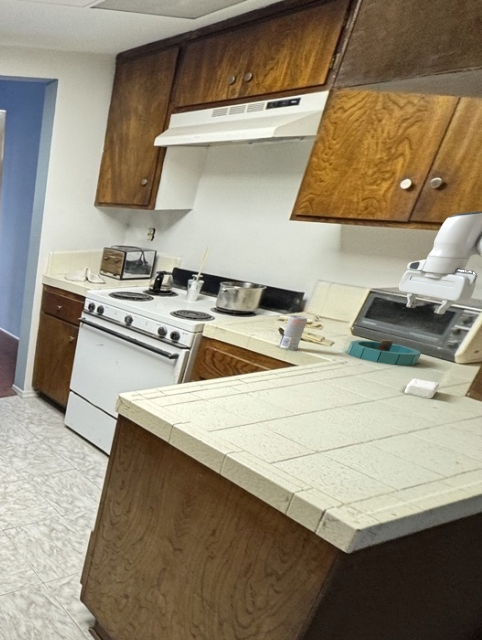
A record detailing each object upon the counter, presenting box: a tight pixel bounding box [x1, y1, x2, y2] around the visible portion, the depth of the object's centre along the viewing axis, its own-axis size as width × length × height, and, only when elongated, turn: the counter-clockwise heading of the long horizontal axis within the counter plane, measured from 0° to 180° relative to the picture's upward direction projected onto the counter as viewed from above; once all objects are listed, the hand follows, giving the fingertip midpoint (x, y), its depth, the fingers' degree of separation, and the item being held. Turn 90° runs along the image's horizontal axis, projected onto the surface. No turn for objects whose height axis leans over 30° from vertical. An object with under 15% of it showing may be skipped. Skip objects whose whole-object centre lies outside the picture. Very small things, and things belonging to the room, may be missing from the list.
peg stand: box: [378, 338, 394, 352], centre depth 165 cm, size 7×7×6 cm
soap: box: [404, 378, 440, 399], centre depth 133 cm, size 9×6×3 cm, turn 127°
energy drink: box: [278, 315, 308, 351], centre depth 173 cm, size 5×5×12 cm
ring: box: [346, 339, 422, 367], centre depth 165 cm, size 17×17×4 cm
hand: (424, 310), depth 152 cm, fingers open, 8 cm apart
